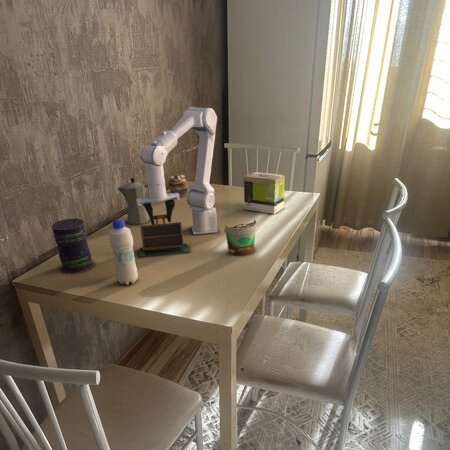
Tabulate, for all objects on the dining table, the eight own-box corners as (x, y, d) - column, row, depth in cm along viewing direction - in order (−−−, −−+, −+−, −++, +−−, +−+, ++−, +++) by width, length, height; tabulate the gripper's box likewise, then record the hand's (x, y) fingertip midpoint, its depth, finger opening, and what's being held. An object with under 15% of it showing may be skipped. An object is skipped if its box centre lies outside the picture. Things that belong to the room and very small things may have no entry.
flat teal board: (188, 252, 145) (188, 249, 145) (139, 257, 143) (139, 254, 142) (187, 245, 151) (186, 242, 150) (139, 249, 148) (139, 247, 148)
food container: (233, 259, 139) (232, 231, 134) (224, 253, 144) (223, 226, 138) (264, 252, 144) (264, 224, 138) (255, 245, 148) (255, 219, 143)
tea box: (284, 208, 183) (285, 174, 176) (274, 214, 176) (275, 179, 168) (254, 203, 190) (254, 170, 183) (243, 209, 183) (243, 175, 176)
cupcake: (167, 197, 202) (165, 176, 197) (172, 191, 210) (170, 171, 205) (186, 197, 201) (184, 177, 196) (190, 192, 209) (189, 172, 204)
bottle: (118, 277, 130) (107, 216, 120) (140, 275, 131) (131, 215, 121) (115, 287, 125) (103, 224, 114) (138, 285, 125) (128, 223, 115)
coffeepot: (125, 227, 169) (117, 183, 160) (120, 220, 176) (113, 177, 167) (161, 221, 174) (156, 177, 164) (155, 214, 181) (150, 172, 172)
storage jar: (76, 275, 132) (65, 231, 125) (56, 269, 137) (44, 226, 129) (99, 263, 139) (90, 221, 132) (79, 257, 144) (69, 216, 136)
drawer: (183, 246, 145) (180, 213, 142) (143, 250, 143) (139, 216, 140) (182, 245, 150) (179, 213, 147) (143, 248, 148) (139, 216, 145)
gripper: (174, 177, 142) (177, 215, 149) (132, 183, 138) (138, 222, 145) (179, 182, 137) (183, 221, 144) (136, 188, 132) (142, 228, 139)
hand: (161, 222), depth 144 cm, fingers closed on drawer, 5 cm apart
